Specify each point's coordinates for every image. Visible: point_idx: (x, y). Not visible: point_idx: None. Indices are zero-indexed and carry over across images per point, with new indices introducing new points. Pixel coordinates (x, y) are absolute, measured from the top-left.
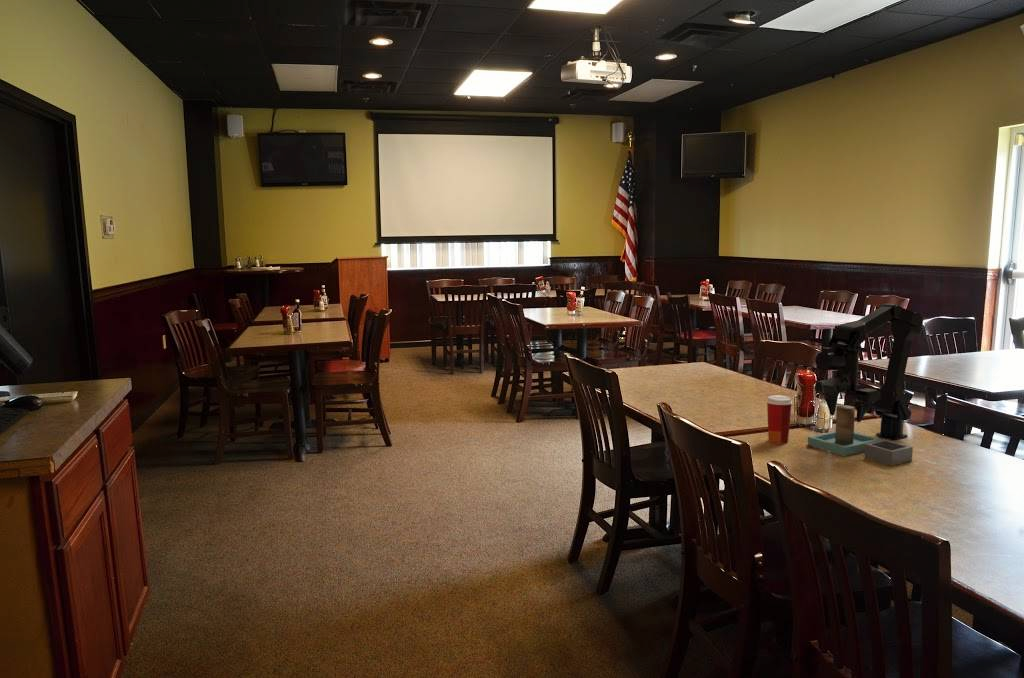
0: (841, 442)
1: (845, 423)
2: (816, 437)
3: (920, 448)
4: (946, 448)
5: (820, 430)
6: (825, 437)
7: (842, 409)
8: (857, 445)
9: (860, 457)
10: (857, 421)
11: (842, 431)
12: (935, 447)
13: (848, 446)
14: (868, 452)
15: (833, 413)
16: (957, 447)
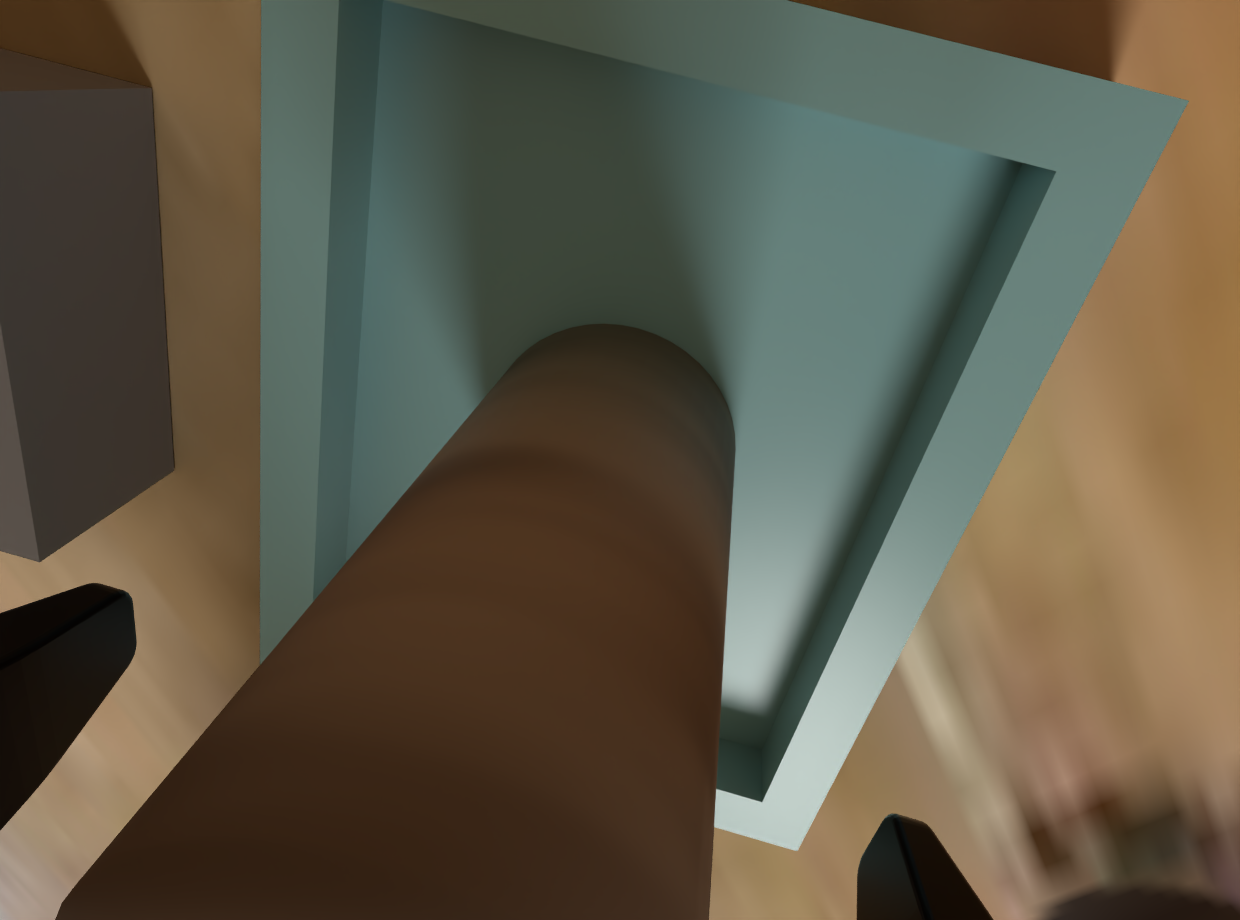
0: (581, 337)
1: (409, 516)
2: (1015, 242)
3: (115, 779)
4: (30, 865)
5: (1133, 862)
6: (905, 451)
7: (282, 818)
8: (265, 249)
9: (182, 51)
10: (97, 589)
11: (523, 411)
12: (83, 853)
13: (277, 29)
14: (6, 68)
15: (871, 893)
16: (17, 915)
